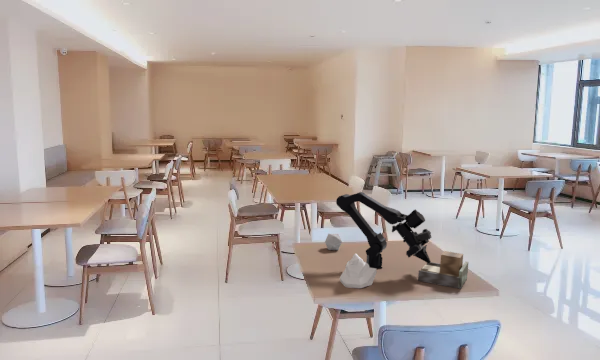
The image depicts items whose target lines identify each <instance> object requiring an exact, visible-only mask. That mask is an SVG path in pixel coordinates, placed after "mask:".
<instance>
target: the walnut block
mask: <svg viewBox="0 0 600 360" xmlns="http://www.w3.org/2000/svg"><path fill="white" fill-rule="evenodd" d="M463 262H464V254H463V253H460V252H454V251H448V250H444V251H443V252H442V253H441V254H440V263H439V264H440V273H445V274H450V275H456V276H459V271H460V269H461V268H462V266H463V265H464V263H463Z"/></svg>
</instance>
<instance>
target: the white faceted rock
mask: <svg viewBox="0 0 600 360" xmlns="http://www.w3.org/2000/svg"><path fill="white" fill-rule="evenodd" d="M377 270H378V268H370V267H369V264H367V263H366V261H364V259H363V258H361V257H360V256H359V255H358V253H354V254H352V256H351V259H350V260H348V261H347V263H346V264H345V269H344V270H343V271H342V273H341V274H340V276H339V281H340V283H341V284H342V285H343V286H344V287H345V288H350V289H363V288H366V287H368V286H369V287H370V286H372V285H373V282H374V280H375V278H376V275H377V272H378V271H377Z"/></svg>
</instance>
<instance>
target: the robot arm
mask: <svg viewBox="0 0 600 360" xmlns="http://www.w3.org/2000/svg"><path fill="white" fill-rule="evenodd" d="M358 202H359V203H360V204H363V205H365V206H366V207H367V208H369V209H371V210H373V211H374V212H375V213H377V214H379V215H380V216H381V217H382V218H383V220H385V221H386V222H387V223H388V225H389V224H390V225H391V228H392V229H391V232H392V233H394V232H395V231H396V232H397V233H398V235H399V236H400V237H401V238H402V239H403V240H402V242H403V243H406V245H407V246H408V250H406V251H405V253H406V254H405V256H407V258H411V257H412V256H413V257H415V258H418V259H420V260H422V261H423V262H425V263H426V264H427V263H430V262H432V261H431V259H430V257H429V254H428V251H427V246H428V245H427V243H430V242H429V241H430V240H431V239H432V232H431V231H430V230H429V229H428V228H424V229H422V232H419V233H418V232H417V231H414V230H413V229H417V228H418V227H419V226H421V225H422V224H423V223H425V222H426V217H424V215H423V214H422V213H420V212H419V211H418V210H417V209H413V210H411V212H410V213H409V214H405V213H402V212H401V211H400V210H398V209H396V208H392V207H388V206H386V205H385V204H383V203H381V202H379V201H378V200H376V199H374V198H372V197H371V196H369V195H368V194H366V193H365V192H363V191H360V192H357V193H354V194H347V193H344V194H342V195H340V196H338V197H337V198H336V201H335V203H336V205H337V206H338V207H339V208H340V209H341V211H343V212H345V213H346V214H348V216H349V217H350V219H352V221H353V222H354V223H355V224H356V226H357V228H358V229H360V231H361V233H363V235H364V236H365V238H366V240H367V244H368V246H369V247H368V248H367V249H366V250H365V254H366V260H365V262H366V263H367V264H369V267H370V268H376V269H383V257H382V255H383V254H382V252H383V251H384V250H385V249H386V248H387V245H388V242H387V238H385V236H384V235H383V234H382V233H381V232H379V233H377V232H376V231H374V229H373V228H372V227H371V225H370V223H369V222H367V220H366V219H365V218H364V216H362V215H363V214H361V213H360V211H359V210H358V208H357V207H356V204H355V203H358Z"/></svg>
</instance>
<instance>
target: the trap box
mask: <svg viewBox="0 0 600 360" xmlns="http://www.w3.org/2000/svg"><path fill="white" fill-rule="evenodd" d="M468 270H469V261H465V262H464V263H463V264H462V268H461V269H460V271H459V276H456V275H450V274H445V273H440V263H439V262H432V261H431V262H430V263H427V262H426V264H424V265H423V267H422V268H421V269H420V270H418V273H417V274H418V276H417V281H418V282H423V283H428V284H434V285H438V286H443V287H444V286H445V287H448V288H453V289H454V288H455V289H459V290H461V289H462V288H463V286H464V285H465V283H466V281H467V279H468V272H469V271H468Z"/></svg>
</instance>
